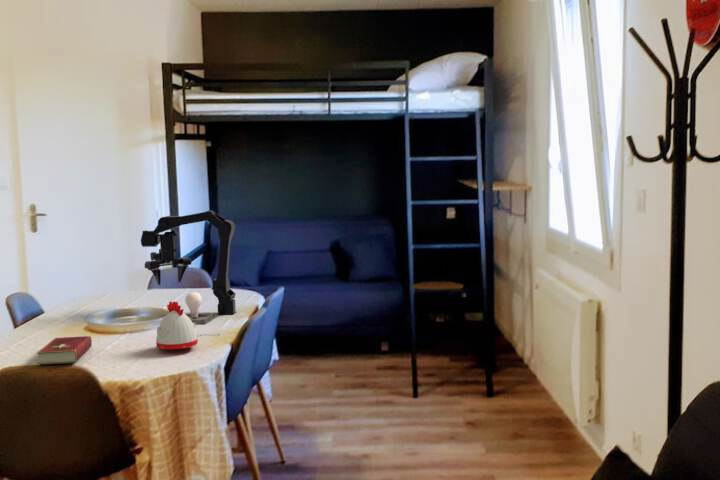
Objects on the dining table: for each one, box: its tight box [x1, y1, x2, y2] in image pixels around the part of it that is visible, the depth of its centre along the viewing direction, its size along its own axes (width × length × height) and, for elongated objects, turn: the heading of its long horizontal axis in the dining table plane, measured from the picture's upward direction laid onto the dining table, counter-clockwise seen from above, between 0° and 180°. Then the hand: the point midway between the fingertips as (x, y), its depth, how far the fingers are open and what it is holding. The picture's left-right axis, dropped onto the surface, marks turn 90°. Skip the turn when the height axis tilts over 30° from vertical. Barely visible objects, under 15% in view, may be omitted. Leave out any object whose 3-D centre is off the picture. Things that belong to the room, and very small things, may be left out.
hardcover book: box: [36, 335, 93, 365], centre depth 244 cm, size 12×21×4 cm, turn 7°
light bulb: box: [184, 291, 203, 319], centre depth 292 cm, size 7×7×11 cm
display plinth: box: [185, 313, 218, 325], centre depth 293 cm, size 14×14×2 cm
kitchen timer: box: [155, 300, 198, 350], centre depth 253 cm, size 14×14×15 cm
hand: (169, 283), depth 305 cm, fingers open, 9 cm apart
